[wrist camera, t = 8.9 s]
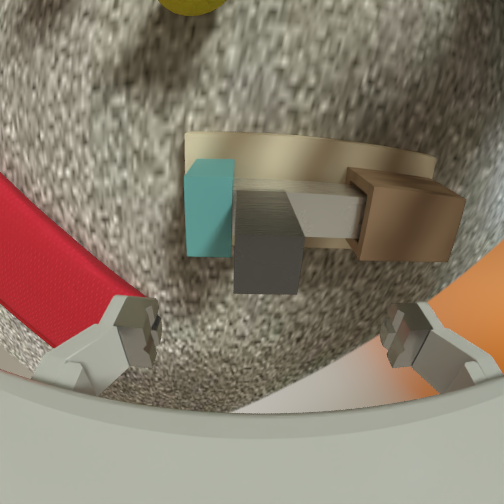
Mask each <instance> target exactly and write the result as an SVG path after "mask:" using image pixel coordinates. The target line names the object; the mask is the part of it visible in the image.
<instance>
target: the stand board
mask: <svg viewBox="0 0 504 504" xmlns="http://www.w3.org/2000/svg"><path fill="white" fill-rule="evenodd" d="M196 159H235V167H234V178H254V179H276V180H294V181H310V182H323V183H336V184H345V180H346V173H347V167H354V168H363V169H371V170H379V171H386V172H394V173H400V174H407V175H413V176H419V177H425V178H430V179H433V174H434V169H435V163H436V158H435V157H433V156H431V155H428V154H424V153H419V152H414V151H409V150H404V149H398V148H393V147H387V146H381V145H375V144H368V143H361V142H354V141H347V140H339V139H330V138H321V137H311V136H300V135H287V134H272V133H252V132H187V133H185V174H186V173H187V171H188V170H189V169H190V167H191V166H192V165H193V163H194V162H195V161H196ZM234 244H235V234H232V246H234ZM304 248H334V249H352V248H351V247H350V245H349V244H348V242H347V241H346V239H345V238H326V237H305V244H304Z"/></svg>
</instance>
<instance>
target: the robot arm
mask: <svg viewBox="0 0 504 504" xmlns="http://www.w3.org/2000/svg"><path fill="white" fill-rule="evenodd" d="M503 1H504V0H503ZM158 310H159V305H158V300H157V299H156V298H147V297H137V296H125V295H115V296H113V298H112V300H111V302H110V303H109V305H108V307H107V309H106V311H105V312H104V314H103V316H102V318H101V320H100V322H99V324H93V325H92V326H90V327H88V328H87V329H85V330H83V331H82V332H80V333H79V334H77V335H75V336H74V337H72V338H70V339H69V340H67V341H65V342H64V343H62V344H61V345H59V346H57V347H56V348H54V349H53V350H51V351H49V352H48V353H46V354H44V356H43V358H42V360H41V361H40V363H39V365H38V367H37V368H36V370H35V372H34V374H33V376H32V378H31V379H28V378H25V377H22V376H19V375H16V374H13V373H10V372H7V371H5V370H2V369H0V504H504V375H503V374H502V372H501V370H500V369H499V367H498V366H497V364H496V363H495V361H494V359H493V358H492V356H491V355H489V354H488V353H486V352H485V351H483V350H482V349H480V348H478V347H477V346H475V345H474V344H472V343H470V342H469V341H467V340H466V339H464V338H463V337H461V336H460V335H458V334H456V333H455V332H453V331H452V330H450V329H448V328H444V327H443V325H442V324H441V322H440V320H439V319H438V318H437V316H436V314H435V313H434V311H433V310H432V309H431V307H430V306H429V304H428V303H427V302H425V301H423V302H414V303H391V304H390V305H389V307H388V309H387V312H386V313H387V315H388V317H387V318H386V319H385V320H384V321H383V322H382V325H381V328H380V338H381V343H382V345H383V347H385V348H386V349H388V353H387V357H388V359H389V361H390V364H391V366H392V368H397V367H408V366H412V368H413V369H414V370H415V371H416V372H417V373H418V374H419V375H420V376H421V377H423V378H424V379H425V380H426V381H427V382H428V383H429V384H430V385H431V386H432V387H433V388H434V389H436V391H438V392H439V393H440V394H439V395H434V396H430V397H425V398H420V399H415V400H410V401H404V402H398V403H392V404H387V405H379V406H373V407H365V408H356V409H347V410H336V411H323V412H309V413H280V414H250V413H249V414H246V413H221V412H204V411H192V410H181V409H172V408H163V407H155V406H148V405H141V404H135V403H129V402H123V401H117V400H112V399H107V398H102V397H98V396H99V395H100V394H101V393H102V392H103V391H104V390H105V389H106V388H107V387H108V386H109V385H110V384H112V383H113V382H114V381H115V380H116V379H117V378H118V377H119V376H120V375H121V374H122V373H123V372H124V371H125V370H127V369H128V368H129V366H138V367H148V368H153V365H154V361H155V358H156V354H157V352H156V348H155V347H156V346H158V345H159V344H160V340H161V335H162V322H161V318H160V317H159V316H158V315H157V313H158Z"/></svg>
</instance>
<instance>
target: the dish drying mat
mask: <svg viewBox="0 0 504 504" xmlns="http://www.w3.org/2000/svg"><path fill="white" fill-rule="evenodd" d="M115 295H125V296H137V297H146V296H145V295H143V294H142V293H141V292H139V291H138V290H136V289H135V288H134V287H133V286H131V285H130V284H128V283H127V282H126V281H125V280H123V279H122V278H121V277H119V276H118V275H117V274H115V273H114V272H113V271H112V270H110V269H109V268H108V267H107V266H105V265H104V264H103V263H102V262H100V261H99V260H98V259H97V258H96V257H94V256H93V255H92V254H91V253H90V252H88V251H87V250H86V249H85V248H84V247H83V246H81V245H80V244H79V243H78V242H77V241H76V240H74V239H73V238H72V237H71V236H70V235H68V234H67V233H66V232H65V231H64V230H63V229H62V228H61V227H59V226H58V225H57V224H56V223H55V222H54V221H52V220H51V219H50V218H49V217H48V216H47V215H45V214H44V213H43V212H42V211H41V210H40V209H39V208H38V207H37V206H35V205H34V204H33V203H32V202H31V201H30V200H29V199H28V198H27V197H26V196H25V195H24V194H23V193H22V192H21V191H20V190H18V189H17V188H16V187H15V186H14V185H13V184H12V183H11V182H10V181H9V180H8V179H7V178H6V177H5V176H4V175H3V174H2V173H1V172H0V304H1V305H3V306H4V307H5V308H6V309H7V310H8V311H9V312H10V313H12V314H13V315H14V316H15V317H16V318H17V319H19V320H20V321H21V322H22V323H23V324H25V325H26V326H27V327H28V328H29V329H31V330H32V331H33V332H34V333H35V334H37V335H38V336H39V337H40V338H41V339H43V340H44V341H45V342H46V343H48V344H49V345H50V346H51V347H53V348H56V347H57V346H59V345H61V344H62V343H64V342H65V341H67V340H69V339H70V338H72V337H74V336H75V335H77V334H79V333H80V332H82V331H83V330H85V329H87V328H88V327H90V326H92V325H93V324H99V322H100V320H101V318H102V316H103V314H104V312H105V311H106V309H107V307H108V305H109V303H110V302H111V300H112V298H113V296H115Z"/></svg>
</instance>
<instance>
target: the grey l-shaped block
mask: <svg viewBox="0 0 504 504" xmlns="http://www.w3.org/2000/svg"><path fill="white" fill-rule="evenodd" d="M366 201H367V194H366V193H365V192H364V191H363V190H361V189H360V188H359V187H358V186H357V185H347V184H336V183H323V182H310V181H294V180H276V179H254V178H233V191H232V234H235V244H234V294H291V295H297V292H298V285H299V279H300V272H301V265H302V258H303V251H304V244H305V237H326V238H351V239H359V237H360V232H361V227H362V222H363V217H364V212H365V206H366Z"/></svg>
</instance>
